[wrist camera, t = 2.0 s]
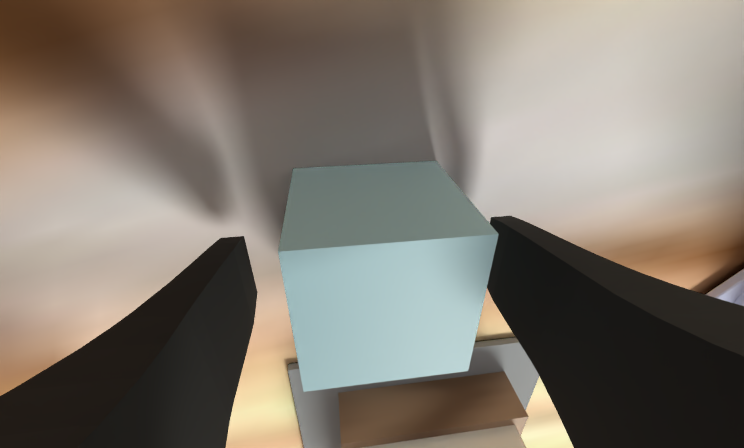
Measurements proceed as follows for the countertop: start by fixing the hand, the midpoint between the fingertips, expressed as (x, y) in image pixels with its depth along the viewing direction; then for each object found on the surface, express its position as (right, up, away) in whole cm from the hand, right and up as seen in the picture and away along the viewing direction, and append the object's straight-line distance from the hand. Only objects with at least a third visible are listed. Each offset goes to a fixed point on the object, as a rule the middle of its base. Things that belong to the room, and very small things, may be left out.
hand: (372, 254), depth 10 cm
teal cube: (0, +1, +2) cm, 2 cm away
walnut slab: (+2, -10, +8) cm, 13 cm away
